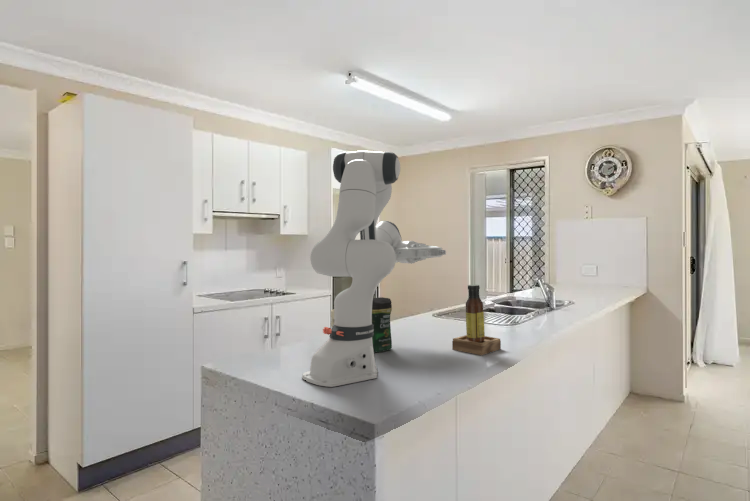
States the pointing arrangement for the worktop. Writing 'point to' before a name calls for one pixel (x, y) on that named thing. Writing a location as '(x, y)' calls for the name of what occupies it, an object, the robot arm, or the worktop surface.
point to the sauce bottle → (474, 315)
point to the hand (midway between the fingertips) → (437, 252)
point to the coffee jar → (381, 324)
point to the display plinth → (476, 345)
